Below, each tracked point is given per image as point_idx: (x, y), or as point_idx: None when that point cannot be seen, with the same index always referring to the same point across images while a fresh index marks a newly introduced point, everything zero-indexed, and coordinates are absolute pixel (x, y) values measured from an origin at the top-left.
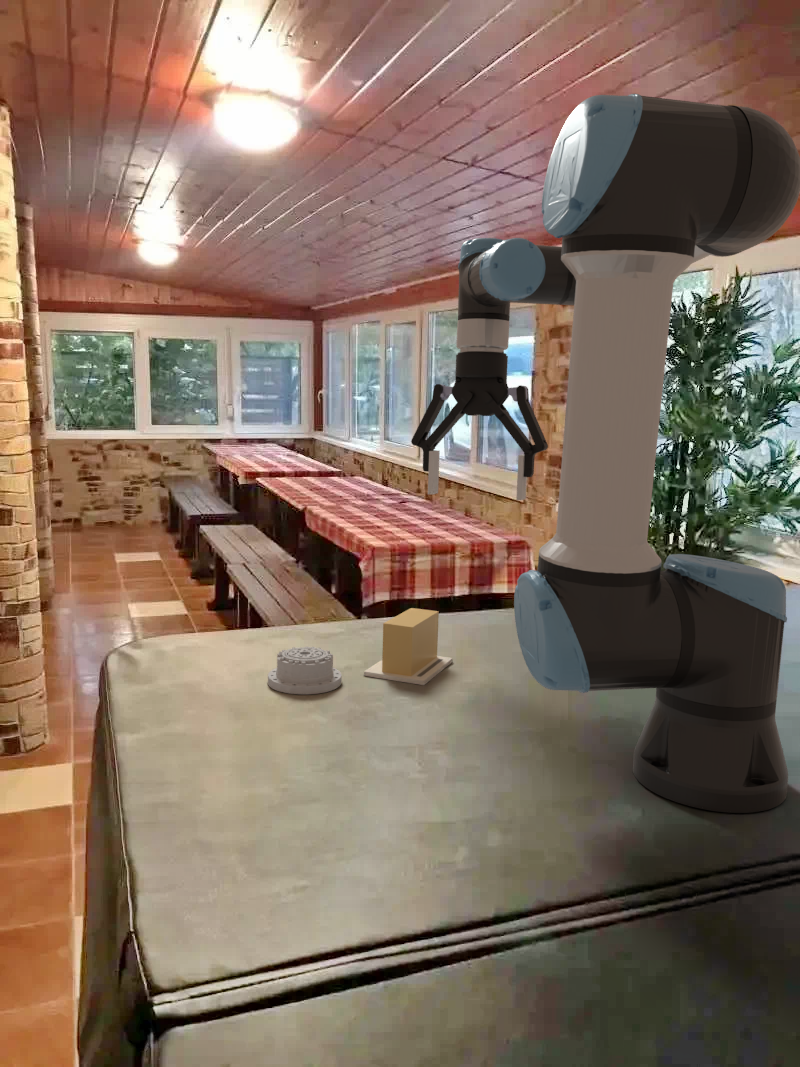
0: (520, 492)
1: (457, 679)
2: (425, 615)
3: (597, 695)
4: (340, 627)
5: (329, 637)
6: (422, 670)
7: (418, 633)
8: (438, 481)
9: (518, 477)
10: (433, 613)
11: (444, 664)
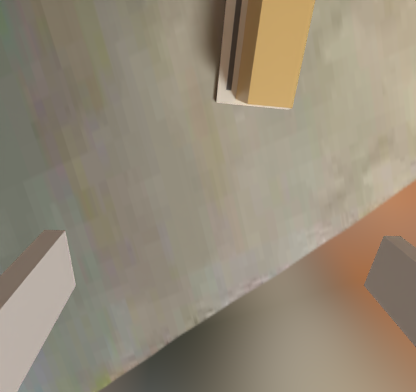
0: (32, 247)
1: (193, 28)
2: (262, 65)
3: (12, 32)
4: (368, 188)
5: (376, 144)
6: (240, 28)
7: (258, 5)
8: (391, 317)
9: (4, 298)
10: (252, 86)
11: (219, 69)
